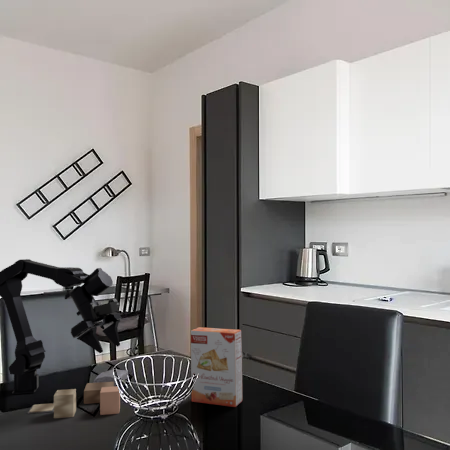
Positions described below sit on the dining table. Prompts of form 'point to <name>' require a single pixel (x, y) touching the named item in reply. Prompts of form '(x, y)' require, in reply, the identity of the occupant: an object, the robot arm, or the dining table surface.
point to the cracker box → (216, 366)
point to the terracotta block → (109, 400)
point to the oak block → (65, 403)
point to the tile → (41, 408)
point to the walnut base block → (94, 391)
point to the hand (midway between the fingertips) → (110, 349)
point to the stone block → (110, 376)
